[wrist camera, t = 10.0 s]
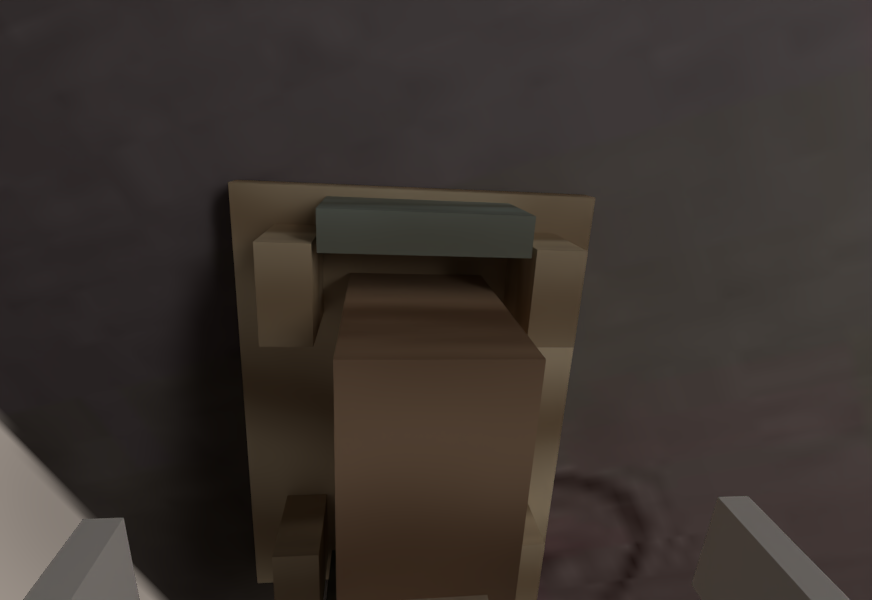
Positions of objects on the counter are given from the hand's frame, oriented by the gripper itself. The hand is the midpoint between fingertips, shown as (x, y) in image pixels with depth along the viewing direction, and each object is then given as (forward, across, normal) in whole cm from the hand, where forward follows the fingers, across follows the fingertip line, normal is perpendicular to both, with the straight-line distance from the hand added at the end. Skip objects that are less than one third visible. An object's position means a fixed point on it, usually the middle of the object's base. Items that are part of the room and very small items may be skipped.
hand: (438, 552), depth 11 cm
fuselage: (+8, 0, -1) cm, 8 cm away
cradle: (+9, 0, -1) cm, 9 cm away
